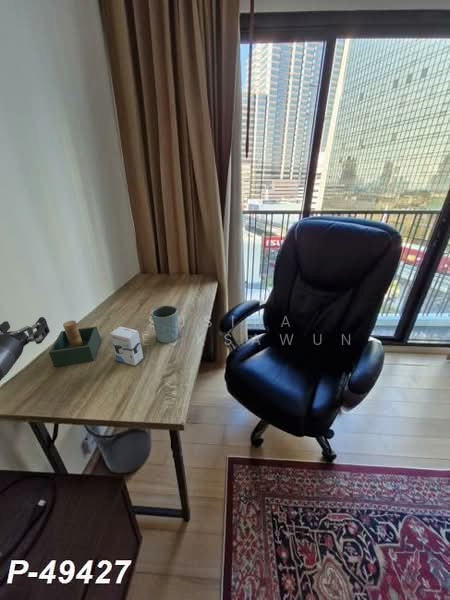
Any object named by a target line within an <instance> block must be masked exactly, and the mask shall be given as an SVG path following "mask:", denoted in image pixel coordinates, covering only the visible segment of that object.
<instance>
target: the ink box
mask: <svg viewBox="0 0 450 600" xmlns="http://www.w3.org/2000/svg"><path fill="white" fill-rule="evenodd" d="M109 336H110V340H111V344H112V348H113V352H114V355H115V360H116V361H117V362H121V363H125V364H128V365H131V366H134V367H135V366H136V365H138V364H139V363H140V362H141V361H142V360H143V359H144V354H143V353H144V352H143V348H142V344H141V343H142V342H141V339H140V333H139V331H138V330H137V329H132V328H129V327H124V326H118V327H117V328H115V329H114V330H112V331H111V332H110V333H109Z"/></svg>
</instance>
